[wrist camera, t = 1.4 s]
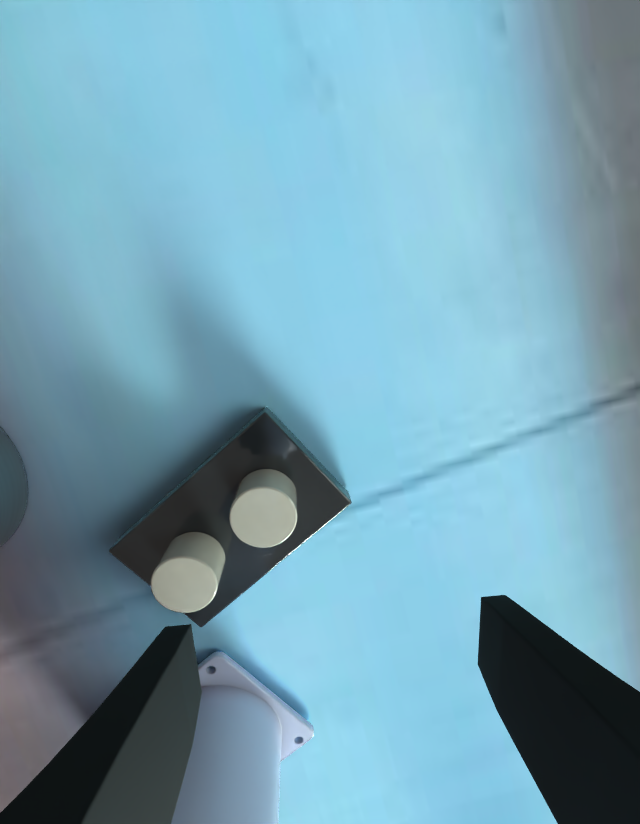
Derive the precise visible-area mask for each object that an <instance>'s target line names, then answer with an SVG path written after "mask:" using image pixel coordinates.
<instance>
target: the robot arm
mask: <svg viewBox="0 0 640 824" xmlns="http://www.w3.org/2000/svg"><path fill="white" fill-rule="evenodd" d="M209 666H213V667H209ZM478 666H479V668H480V671H481V673H482V676H483V678H484V681H485V683H486V686H487V688H488V690H489V693H490V695H491V697H492V700H493V702H494V704H495V707H496V709H497V711H498V713H499V715H500V717H501V719H502V721H503V723H504V725H505V727H506V729H507V730H508V732H509V734H510V736H511V738H512V740H513V742H514V744H515V745H516V747H517V749H518V751H519V753H520V755H521V757H522V758H523V760H524V762H525V764H526V766H527V768H528V769H529V771H530V773H531V775H532V777H533V779H534V781H535V782H536V784H537V786H538V788H539V790H540V792H541V794H542V795H543V797H544V799H545V801H546V803H547V805H548V806H549V808H550V810H551V812H552V814H553V816H554V818H555V819H556V821H557V823H558V824H640V692H639V691H638V690H636V689H635V688H633V687H632V686H630V685H629V684H627V683H626V682H624V681H623V680H621V679H620V678H618V677H617V676H615V675H614V674H612V673H611V672H610V671H608V670H607V669H605V668H604V667H602V666H601V665H600V664H598V663H597V662H595V661H594V660H593V659H591V658H590V657H588V656H587V655H586V654H584V653H583V652H581V651H580V650H579V649H577V648H576V647H575V646H573V645H572V644H570V643H569V642H568V641H566V640H565V639H564V638H562V637H561V636H560V635H558V634H557V633H556V632H554V631H553V630H552V629H550V628H549V627H548V626H546V625H545V624H544V623H542V622H541V621H540V620H538V619H537V618H536V617H534V616H533V615H532V614H530V613H529V612H528V611H526V610H525V609H524V608H522V607H521V606H520V605H518V604H517V603H516V602H514V601H513V600H511V599H510V598H509V597H507V596H506V595H499V596H488V597H481V612H480V631H479V650H478ZM313 735H314V729H313V725H312V724H311V723H309V722H308V721H307V720H306V719H305V718H303V717H302V716H301V715H300V714H299V713H297V712H296V711H295V710H294V709H292V708H291V707H290V706H289V705H288V704H286V703H285V702H284V701H283V700H281V699H280V698H279V697H278V696H277V695H275V694H274V693H273V692H272V691H270V690H269V689H268V688H267V687H266V686H264V685H263V684H262V683H261V682H260V681H258V680H257V679H256V678H255V677H253V676H252V675H251V674H250V673H249V672H247V671H246V670H245V669H244V668H242V667H241V666H240V665H239V664H238V663H236V662H235V661H234V660H233V659H231V658H230V657H229V656H228V655H227V654H225V653H223V652H220V651H218V652H214V653H212V654H211V655H210V656H209V657H207V658H206V659H205V660H204V661H203V662H201V663H200V664H199V665H197V658H196V652H195V646H194V640H193V633H192V627H191V624H189V625H178V626H167V627H165V628H164V629H163V630H162V631H161V632H160V634H159V635H158V636H157V637H156V638H155V640H154V641H153V642H152V643H151V645H150V646H149V647H148V648H147V650H146V651H145V652H144V653H143V655H142V656H141V657H140V658H139V660H138V661H137V662H136V663H135V664H134V666H133V667H132V668H131V669H130V671H129V672H128V673H127V674H126V675H125V677H124V678H123V679H122V680H121V682H120V683H119V684H118V685H117V686H116V687H115V689H114V690H113V691H112V692H111V693H110V695H109V696H108V697H107V698H106V699H105V700H104V702H103V703H102V704H101V705H100V706H99V708H98V709H97V710H96V711H95V712H94V713H93V715H92V716H91V717H90V718H89V719H88V720H87V722H86V723H85V724H84V725H83V726H82V727H81V728H80V729H79V730H78V732H77V733H76V734H75V735H74V736H73V737H72V738H71V739H70V740H69V741H68V743H67V744H66V745H65V746H64V747H63V748H62V749H61V750H60V751H59V752H58V754H57V755H56V756H55V757H54V758H53V759H52V760H51V761H50V762H49V764H48V765H47V766H46V767H45V768H44V769H43V770H42V771H41V772H40V773H39V774H38V775H37V776H36V777H35V778H34V779H33V780H32V781H31V782H30V783H29V785H28V786H27V787H26V788H25V789H24V790H23V791H22V792H21V793H20V794H19V795H18V796H17V797H16V798H15V799H14V800H13V801H12V802H11V803H10V804H9V805H8V806H7V807H6V808H5V809H4V810H3V811H2V812H1V813H0V824H279V795H280V765H281V761H282V760H284V759H285V758H286V757H288V756H289V755H290V754H292V753H293V752H294V751H296V750H297V749H298V748H300V747H301V746H302V745H304V744H305V743H306V742H308V741H309V740H310V739H311V738H312V737H313Z"/></svg>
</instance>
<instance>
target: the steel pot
mask: <svg viewBox="0 0 640 824" xmlns="http://www.w3.org/2000/svg"><path fill="white" fill-rule="evenodd" d="M27 496H28V487H27V478H26V473H25V469H24V466H23V463H22V460H21V458H20V456H19V454H18V452H17V450H16V448H15V446H14V445H13V443H12V442H11V440H10V439H9V437H8V436H7V434H6V433H5V432H4V431H3V430H2V429H1V427H0V547H1V546H2V545H3V544H5V543H6V542H7V541H8V540H9V539H10V537H11V536H12V535H13V534H14V532H15V531H16V529H17V528H18V526H19V525H20V522H21V520H22V518H23V516H24V512H25V509H26V505H27Z"/></svg>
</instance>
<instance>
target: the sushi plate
mask: <svg viewBox="0 0 640 824" xmlns="http://www.w3.org/2000/svg"><path fill="white" fill-rule="evenodd" d="M351 503H352V502H351V499H350V496H349V493H348V491H347V490H346V489H345V488H344V487H343V486H342V485H341V484H340V483H339V482H338V481H337V480H336V478H335V477H334V476H333V475H332V474H331V473H330V472H329V471H328V470H327V469H326V468H325V467H324V466H323V465H322V464H321V463H320V462H319V461H318V460H317V458H316V457H315V456H314V455H313V454H312V453H311V452H310V451H309V450H308V449H307V448H306V447H305V446H304V445H303V444H302V443H301V442H300V441H299V440H298V439H297V437H296V436H295V435H294V434H293V433H292V432H291V431H290V430H289V429H288V428H287V427H286V426H285V425H284V424H283V423H282V422H281V421H280V420H279V419H278V418H277V416H276V415H275V414H274V413H273V412H272V411H271V410H270V409H269V408H268V407H265V408H264V409H263V410H262V411H261V412H260V413H259V414H257V415H256V416H255V417H254V418H253V419H252V420H251V421H250V422H248V423H247V424H246V425H245V426H244V427H243V428H242V429H241V430H239V431H238V432H237V433H236V434H235V435H234V436H233V437H232V438H230V439H229V440H228V441H227V442H226V443H225V444H224V445H223V446H222V447H220V448H219V449H218V450H217V451H216V452H215V453H214V454H213V455H211V456H210V457H209V458H208V459H207V460H206V461H205V462H204V463H202V464H201V465H200V466H199V467H198V468H197V469H196V470H195V471H193V472H192V473H191V474H190V475H189V476H188V477H187V478H186V479H185V480H183V481H182V482H181V483H180V484H179V485H178V486H177V487H176V488H174V489H173V490H172V491H171V492H170V493H169V494H168V495H167V496H165V497H164V498H163V499H162V500H161V501H160V502H159V503H158V504H156V505H155V506H154V507H153V508H152V509H151V510H150V511H149V512H148V513H146V514H145V515H144V516H143V517H142V518H141V519H140V520H139V521H137V522H136V523H135V524H134V525H133V526H132V527H131V528H130V529H128V530H127V531H126V532H125V533H124V534H123V535H122V536H121V537H119V539H118V540H117V541H116V542H115V544H114V545H113V546H112V547H111V549H110V550H109V552H110V553H111V554H112V555H113V556H115V557H116V558H117V559H118V560H120V561H121V562H122V563H123V564H124V565H126V566H127V567H128V568H129V569H130V570H132V571H133V572H134V573H135V574H137V575H138V576H139V577H140V578H141V579H143V580H144V581H145V582H146V583H147V584H149V585H150V586H151V589H152V593H153V595H154V597H155V598H156V600H157V601H158V602H159V603H160V604H161V605H163V606H164V607H165V608H167V609H169V610H172V611H175V612H180V613H184V614H185V615H186V616H187V617H189V618H190V619H191V620H192V621H194V622H195V623H196V624H197V625H198V626H200V627H203V626H204V625H205V624H206V623H207V622H209V621H210V620H211V619H212V618H213V617H215V616H216V615H217V614H218V613H220V612H221V611H222V610H223V609H224V608H226V607H227V606H228V605H229V604H230V603H232V602H233V601H234V600H235V599H236V598H238V597H239V596H240V595H241V594H242V593H244V592H245V591H246V590H247V589H249V588H250V587H251V586H252V585H253V584H255V583H256V582H257V581H258V580H259V579H261V578H262V577H263V576H264V575H265V574H267V573H268V572H269V571H270V570H271V569H273V568H274V567H275V566H276V565H278V564H279V563H280V562H281V561H282V560H284V559H285V558H286V557H287V556H288V555H290V554H291V553H292V552H293V551H294V550H296V549H297V548H298V547H299V546H300V545H302V544H303V543H304V542H305V541H307V540H308V539H309V538H310V537H311V536H313V535H314V534H315V533H316V532H317V531H319V530H320V529H321V528H322V527H323V526H325V525H326V524H327V523H328V522H329V521H331V520H332V519H333V518H334V517H336V516H337V515H338V514H339V513H340V512H342V511H343V510H344V509H345V508H346V507H348V506H349V505H350V504H351Z"/></svg>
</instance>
